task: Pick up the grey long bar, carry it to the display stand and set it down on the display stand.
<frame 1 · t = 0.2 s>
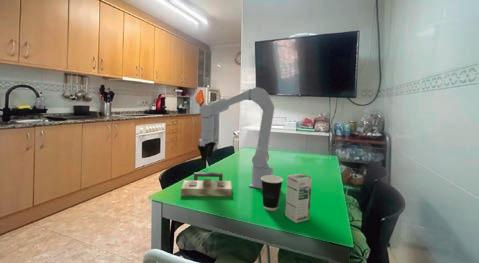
hand: (206, 158, 118), 10 cm above the table, tool pointing down, fingers open, 7 cm apart
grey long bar: (208, 182, 114), on the table
dixie cup: (270, 208, 90), on the table
display stand: (206, 191, 103), on the table
syrup box: (296, 218, 82), on the table
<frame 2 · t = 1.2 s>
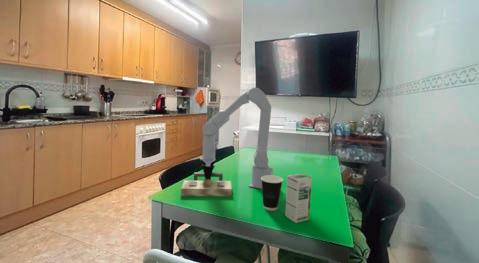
hand: (208, 177, 113), 2 cm above the table, tool pointing down, fingers open, 7 cm apart
nothing on the table moved.
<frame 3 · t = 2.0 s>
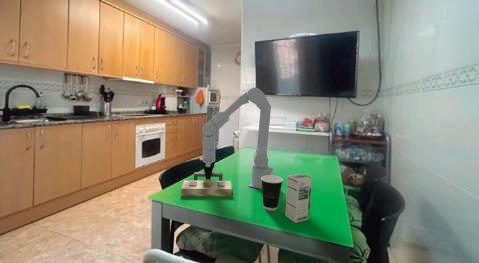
hand: (208, 178, 113), 2 cm above the table, tool pointing down, fingers closed on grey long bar, 2 cm apart
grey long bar: (208, 182, 114), on the table, touching gripper
everything else where it was.
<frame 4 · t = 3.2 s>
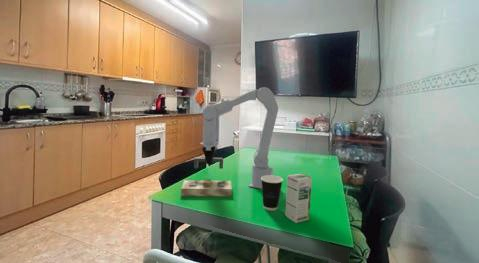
hand: (208, 162, 112), 9 cm above the table, tool pointing down, fingers closed on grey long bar, 2 cm apart
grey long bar: (208, 167, 113), point 7 cm above the table, touching gripper
everything else where it was.
when the fingers open (7 cm above the table, at t = 4.6 s): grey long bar stays where it is, resting on display stand.
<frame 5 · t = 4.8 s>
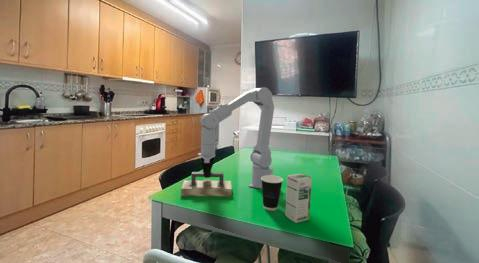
hand: (207, 175, 102), 7 cm above the table, tool pointing down, fingers open, 4 cm apart
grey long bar: (207, 183, 102), point 3 cm above the table, touching display stand
everything else where it was.
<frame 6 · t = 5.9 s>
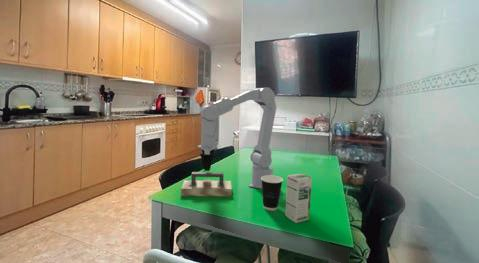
hand: (207, 167, 101), 10 cm above the table, tool pointing down, fingers open, 7 cm apart
nothing on the table moved.
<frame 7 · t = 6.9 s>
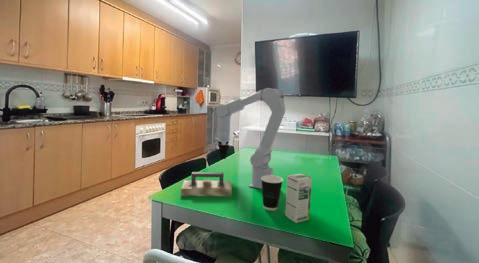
hand: (223, 156, 121), 10 cm above the table, tool pointing down, fingers open, 7 cm apart
nothing on the table moved.
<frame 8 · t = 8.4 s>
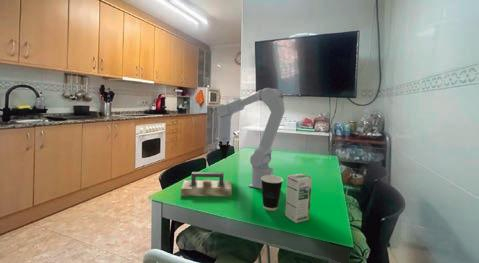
hand: (223, 156, 122), 10 cm above the table, tool pointing down, fingers open, 7 cm apart
nothing on the table moved.
at the end: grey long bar 0.1 cm off-centre on the display stand, point 3.4 cm above the display stand's base; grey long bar tilted 0°; the gripper is holding nothing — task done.
